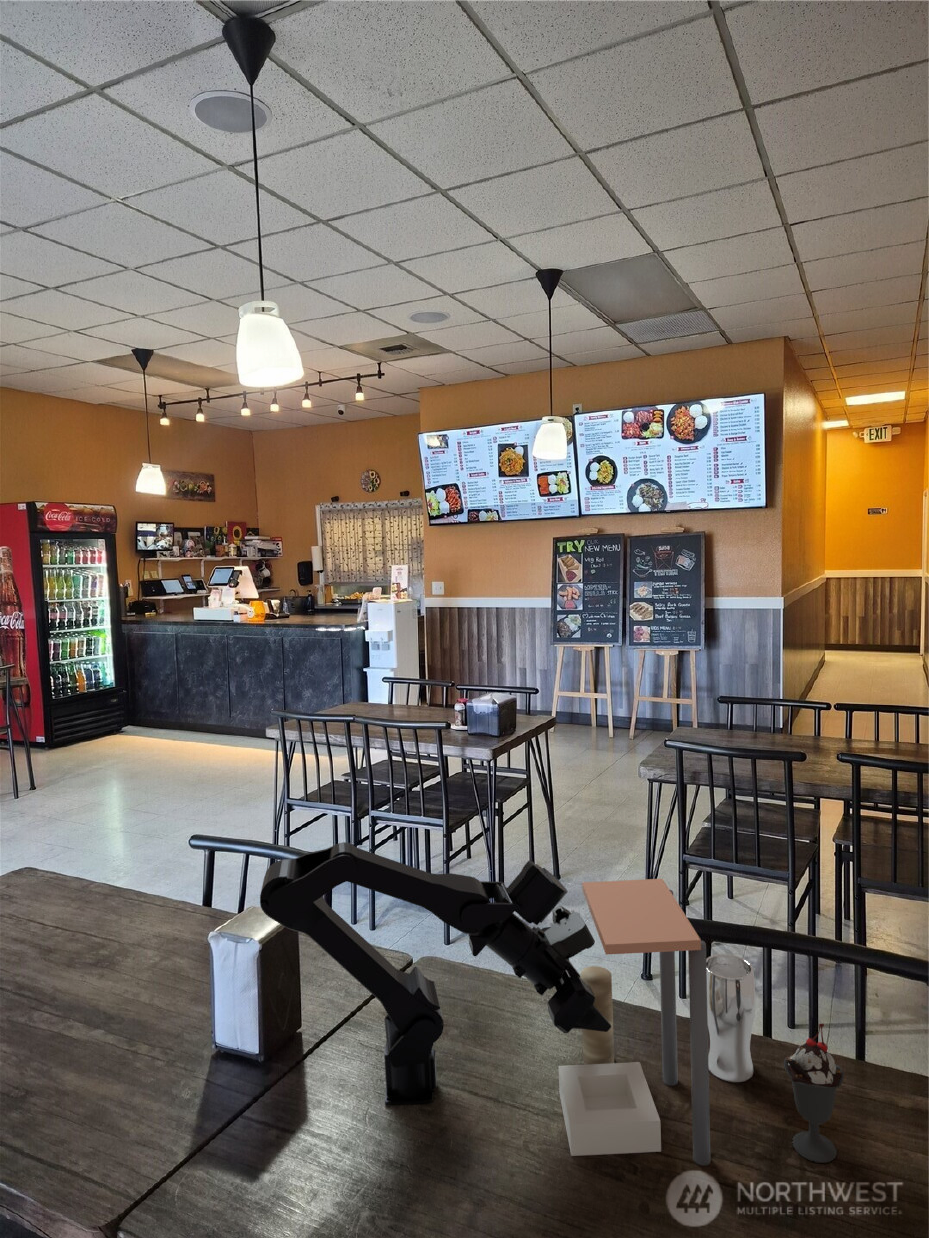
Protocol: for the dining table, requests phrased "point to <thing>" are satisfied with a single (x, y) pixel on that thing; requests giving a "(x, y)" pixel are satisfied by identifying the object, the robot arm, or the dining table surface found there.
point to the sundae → (814, 1096)
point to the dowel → (597, 1042)
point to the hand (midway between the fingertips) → (598, 1009)
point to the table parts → (618, 1092)
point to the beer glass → (730, 1016)
